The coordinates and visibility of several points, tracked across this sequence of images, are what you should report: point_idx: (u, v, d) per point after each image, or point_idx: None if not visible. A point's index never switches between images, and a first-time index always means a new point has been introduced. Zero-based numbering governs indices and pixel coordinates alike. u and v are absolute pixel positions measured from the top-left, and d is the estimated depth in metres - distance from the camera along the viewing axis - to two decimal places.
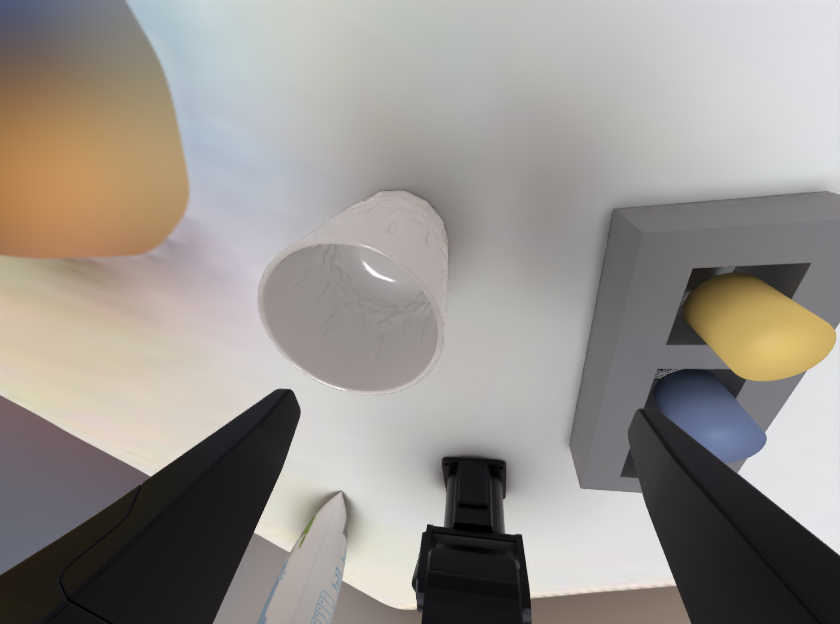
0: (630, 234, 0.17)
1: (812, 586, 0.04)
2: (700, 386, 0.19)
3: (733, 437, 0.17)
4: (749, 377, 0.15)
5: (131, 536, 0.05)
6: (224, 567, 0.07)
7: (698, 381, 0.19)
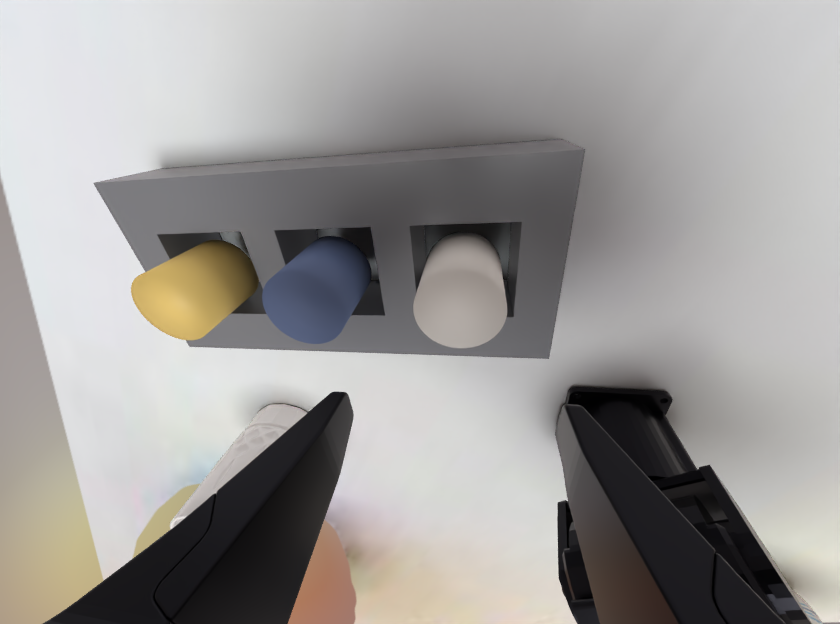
0: None
1: (675, 569, 0.05)
2: None
3: (288, 305, 0.14)
4: (206, 319, 0.15)
5: (219, 549, 0.05)
6: (293, 578, 0.07)
7: None
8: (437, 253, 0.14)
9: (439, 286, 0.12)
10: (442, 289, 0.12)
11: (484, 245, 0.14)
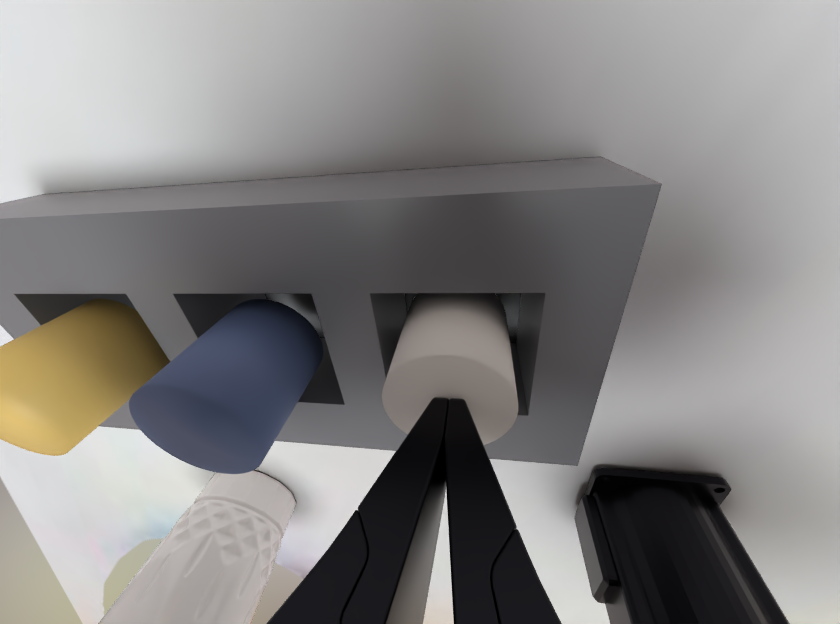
0: None
1: (476, 543, 0.05)
2: None
3: (173, 427, 0.09)
4: (62, 434, 0.10)
5: (391, 576, 0.05)
6: (423, 599, 0.06)
7: None
8: (419, 313, 0.10)
9: (418, 374, 0.08)
10: (422, 378, 0.08)
11: (484, 300, 0.10)
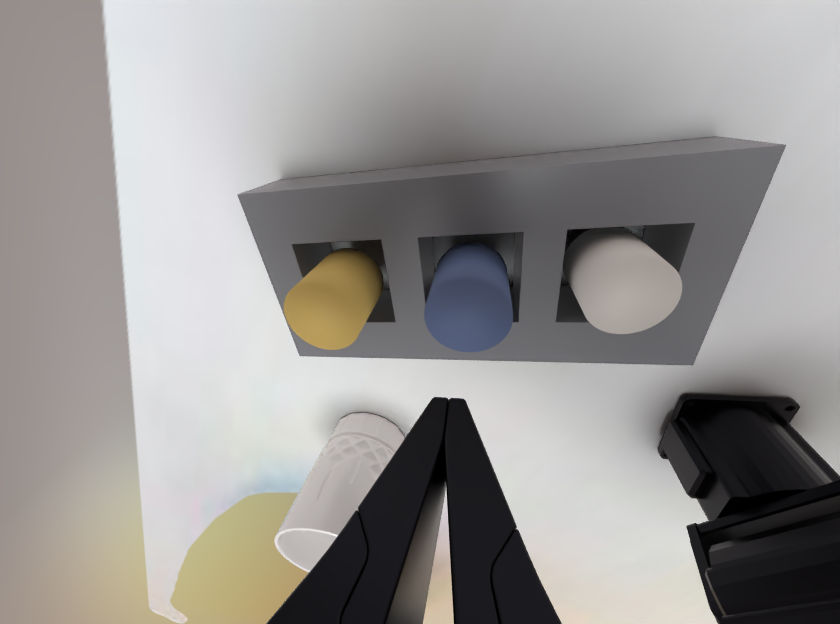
0: None
1: (476, 543, 0.05)
2: None
3: (452, 313, 0.13)
4: (357, 328, 0.15)
5: (391, 576, 0.05)
6: (423, 599, 0.06)
7: None
8: (594, 244, 0.14)
9: (616, 273, 0.13)
10: (618, 276, 0.13)
11: (636, 236, 0.15)
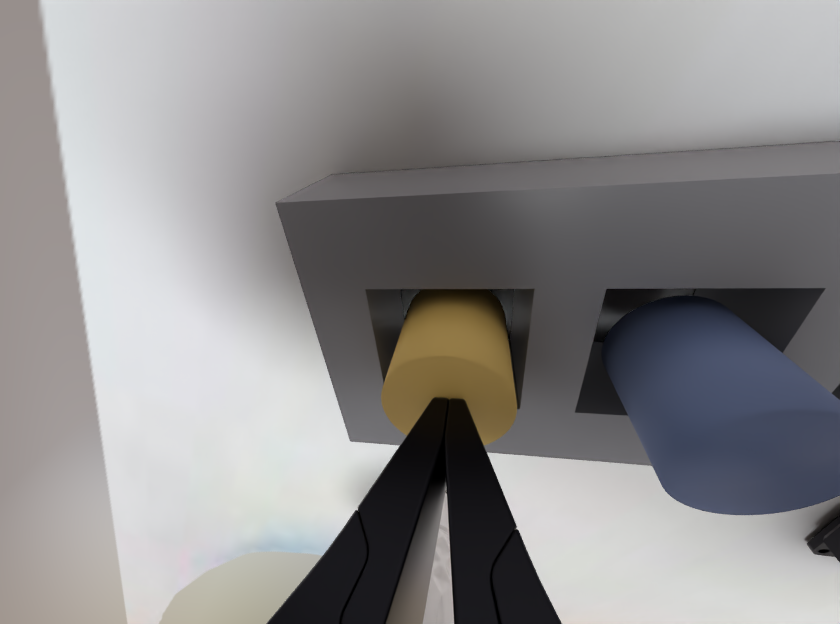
0: None
1: (476, 542, 0.05)
2: (618, 387, 0.09)
3: (731, 460, 0.07)
4: (506, 425, 0.09)
5: (391, 576, 0.05)
6: (423, 599, 0.06)
7: (613, 375, 0.09)
8: None
9: None
10: None
11: None
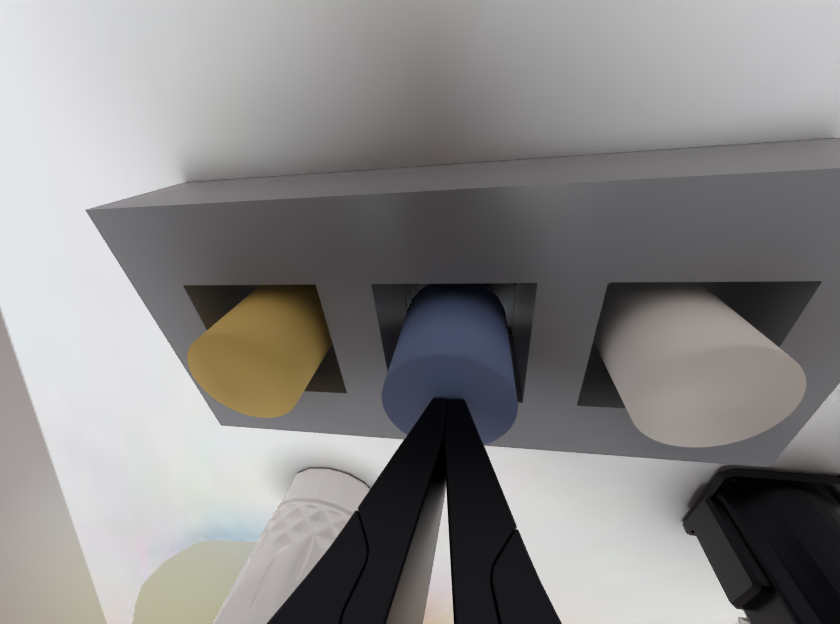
0: None
1: (477, 544, 0.05)
2: None
3: (424, 399, 0.09)
4: (294, 394, 0.10)
5: (391, 576, 0.05)
6: (423, 599, 0.06)
7: None
8: (645, 303, 0.09)
9: (695, 367, 0.08)
10: (698, 371, 0.08)
11: (708, 290, 0.10)
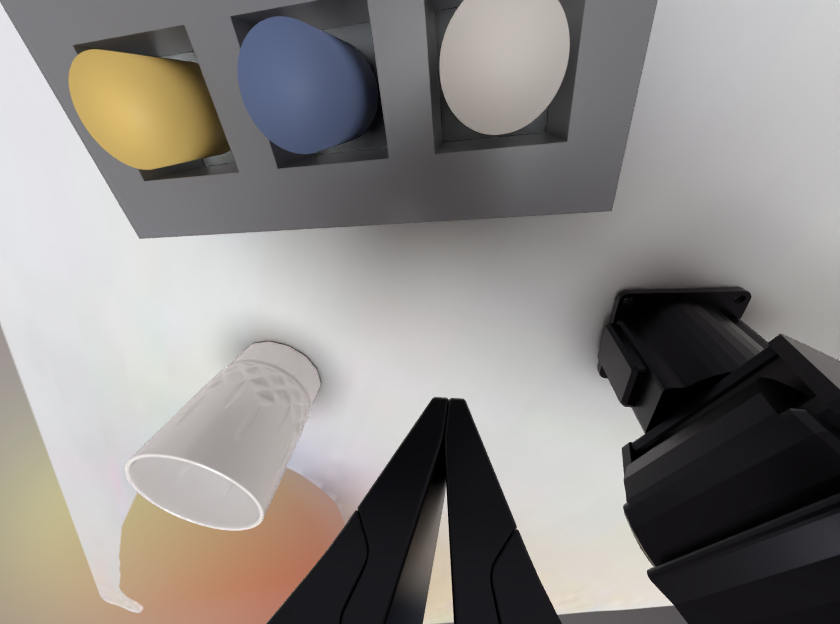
0: None
1: (476, 542, 0.05)
2: None
3: (272, 85, 0.10)
4: (169, 128, 0.11)
5: (391, 576, 0.05)
6: (423, 599, 0.06)
7: None
8: None
9: (476, 15, 0.09)
10: (480, 21, 0.09)
11: None
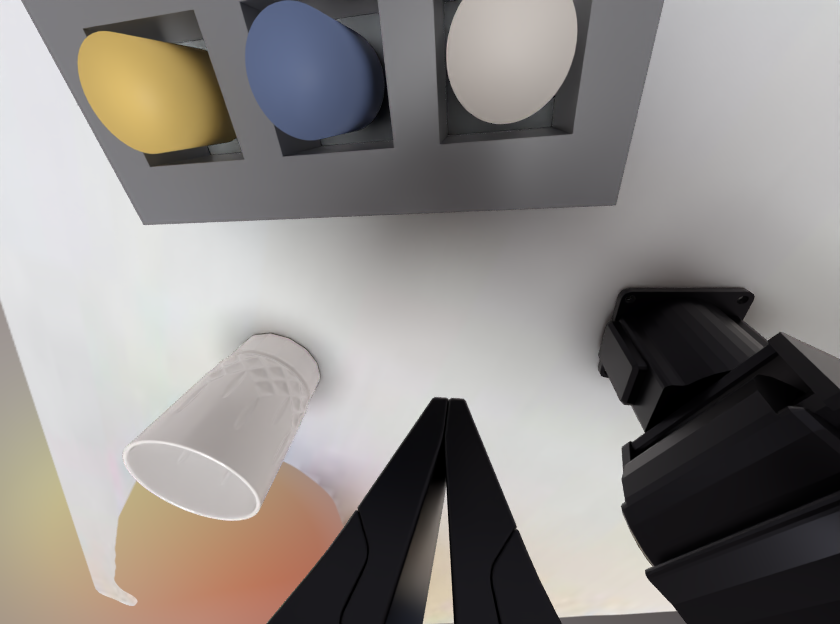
0: None
1: (476, 542, 0.05)
2: None
3: (279, 70, 0.10)
4: (175, 112, 0.11)
5: (391, 575, 0.05)
6: (423, 599, 0.06)
7: None
8: None
9: (484, 2, 0.09)
10: (488, 8, 0.09)
11: None
